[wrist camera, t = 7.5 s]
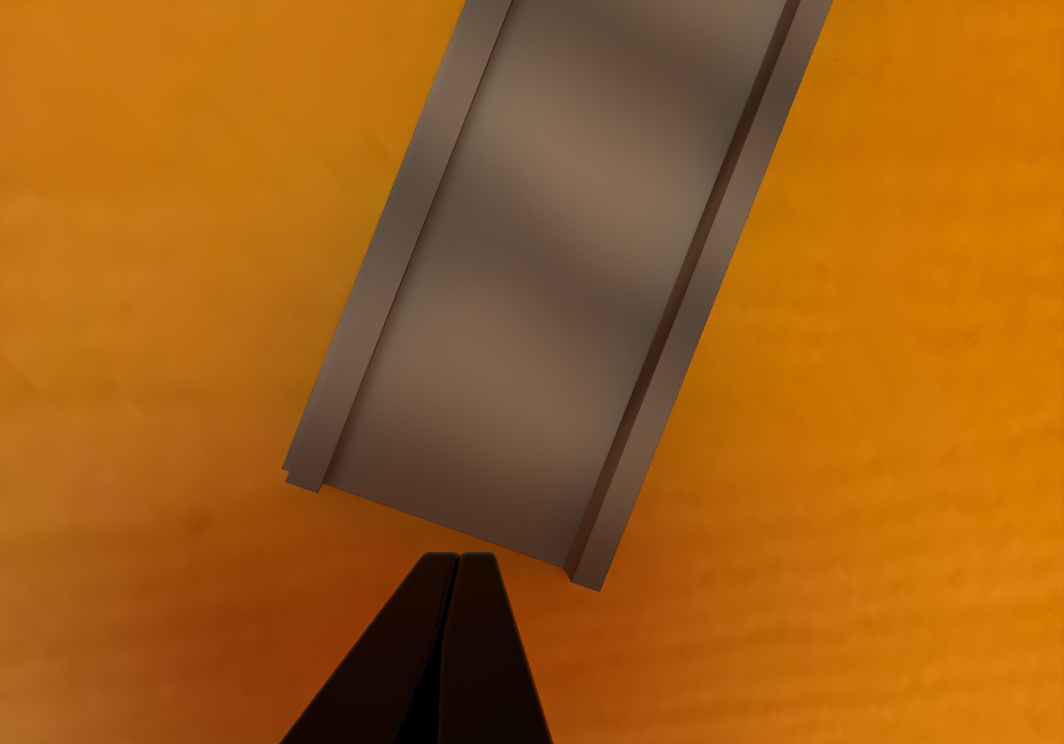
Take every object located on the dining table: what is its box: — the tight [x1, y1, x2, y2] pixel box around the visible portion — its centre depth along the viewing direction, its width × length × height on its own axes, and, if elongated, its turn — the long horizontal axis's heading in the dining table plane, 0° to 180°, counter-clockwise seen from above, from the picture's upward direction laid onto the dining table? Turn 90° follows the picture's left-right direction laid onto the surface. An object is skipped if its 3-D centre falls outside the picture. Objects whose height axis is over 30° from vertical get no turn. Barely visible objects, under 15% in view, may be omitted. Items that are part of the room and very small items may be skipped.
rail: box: [282, 0, 833, 592], centre depth 19 cm, size 26×9×6 cm, turn 159°
